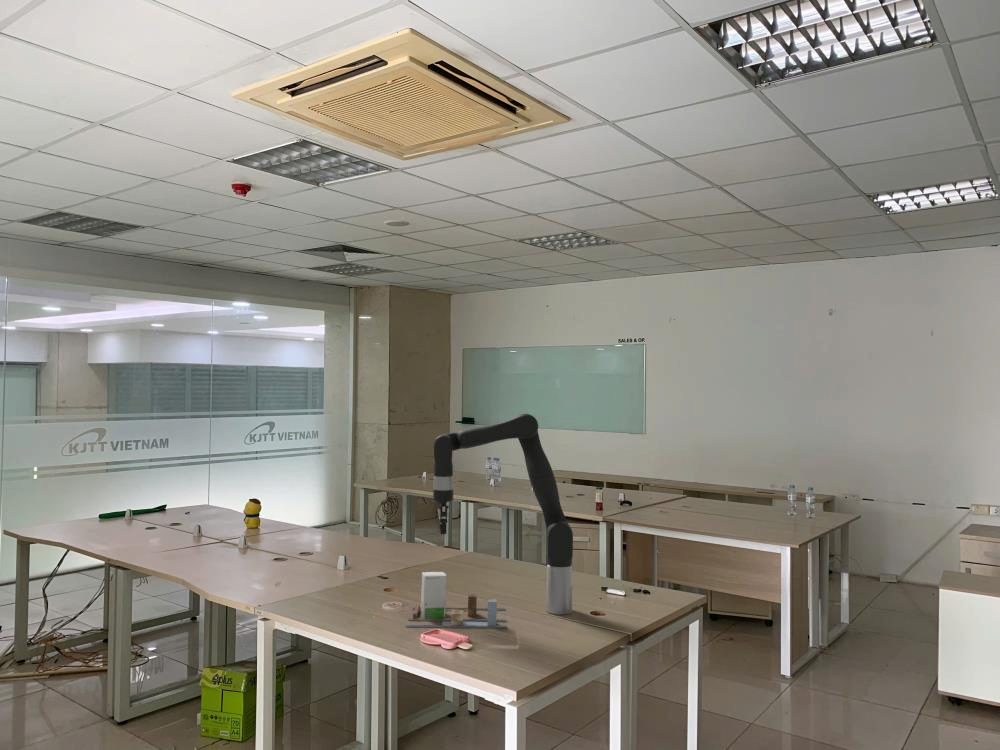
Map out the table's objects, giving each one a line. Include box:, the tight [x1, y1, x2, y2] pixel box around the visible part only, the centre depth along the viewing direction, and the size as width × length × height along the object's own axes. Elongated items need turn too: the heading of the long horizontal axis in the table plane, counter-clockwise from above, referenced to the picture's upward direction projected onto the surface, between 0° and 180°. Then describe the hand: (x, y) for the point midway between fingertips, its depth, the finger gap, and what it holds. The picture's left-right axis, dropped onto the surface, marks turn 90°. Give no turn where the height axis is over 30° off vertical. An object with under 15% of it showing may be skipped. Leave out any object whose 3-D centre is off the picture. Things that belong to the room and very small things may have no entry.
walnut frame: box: [412, 593, 478, 619], centre depth 250 cm, size 22×12×8 cm, turn 91°
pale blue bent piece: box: [441, 598, 498, 626], centre depth 240 cm, size 18×5×9 cm, turn 91°
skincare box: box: [419, 571, 448, 618], centre depth 250 cm, size 8×7×16 cm
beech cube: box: [450, 610, 464, 625], centre depth 239 cm, size 4×4×4 cm
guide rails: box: [405, 606, 508, 629], centre depth 246 cm, size 34×22×2 cm, turn 91°
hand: (442, 531), depth 260 cm, fingers open, 8 cm apart
